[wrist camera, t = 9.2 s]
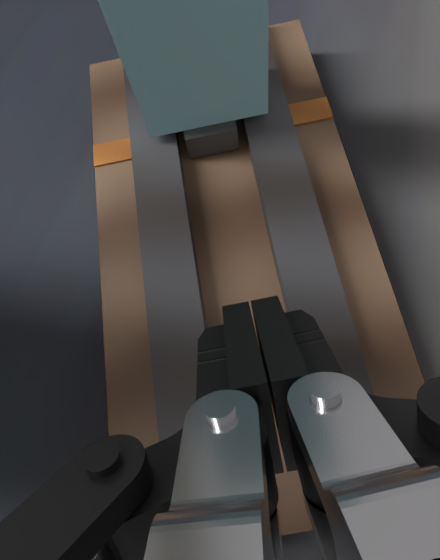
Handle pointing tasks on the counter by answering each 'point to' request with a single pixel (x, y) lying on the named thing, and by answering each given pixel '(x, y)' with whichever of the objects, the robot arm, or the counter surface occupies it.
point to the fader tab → (194, 65)
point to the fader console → (234, 248)
